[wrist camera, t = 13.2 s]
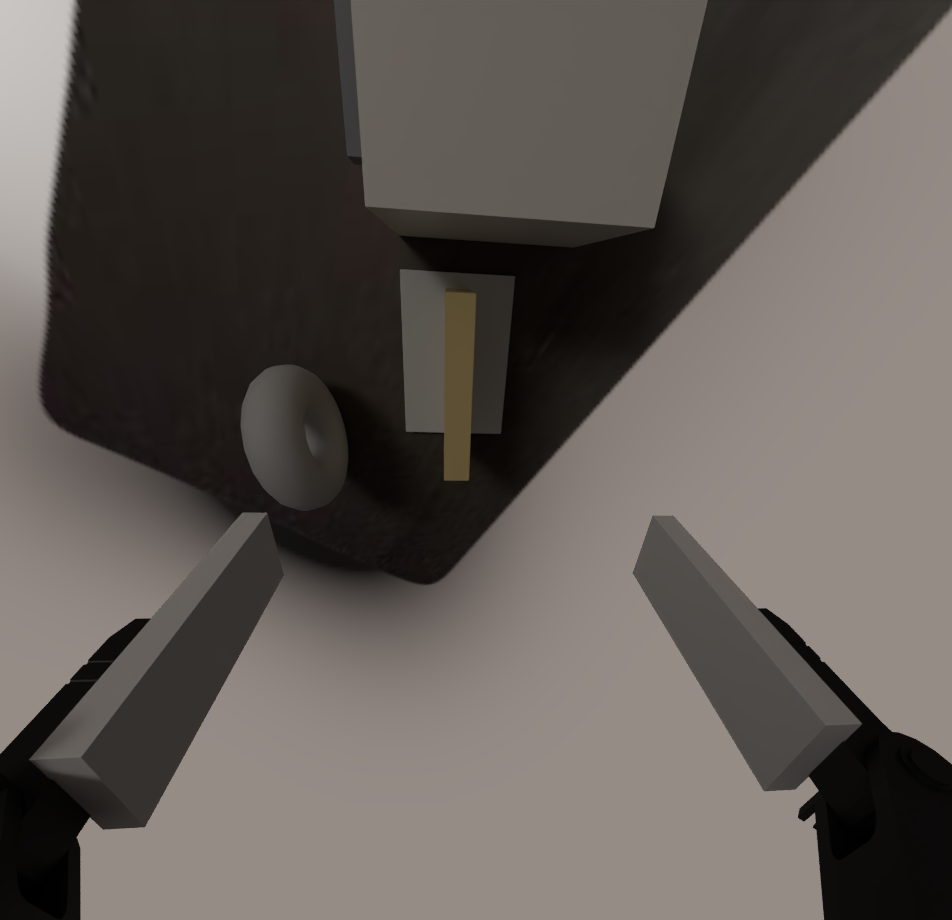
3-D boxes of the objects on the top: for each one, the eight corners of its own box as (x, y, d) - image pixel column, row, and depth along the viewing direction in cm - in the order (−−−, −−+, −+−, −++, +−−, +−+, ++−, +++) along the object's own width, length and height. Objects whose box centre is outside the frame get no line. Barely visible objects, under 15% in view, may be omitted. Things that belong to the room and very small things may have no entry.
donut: (280, 355, 27) (196, 393, 18) (325, 347, 27) (263, 382, 18) (325, 470, 31) (276, 545, 23) (364, 463, 31) (330, 537, 23)
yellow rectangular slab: (445, 432, 30) (444, 480, 23) (445, 288, 25) (444, 292, 18) (464, 432, 30) (468, 480, 23) (468, 289, 25) (476, 293, 18)
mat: (400, 269, 25) (399, 269, 24) (514, 276, 26) (515, 276, 25) (406, 429, 30) (406, 431, 30) (500, 432, 31) (500, 433, 31)
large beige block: (378, 69, 20) (313, -126, 10) (597, 92, 21) (722, -65, 12) (387, 234, 24) (344, 204, 14) (573, 247, 25) (654, 227, 15)
